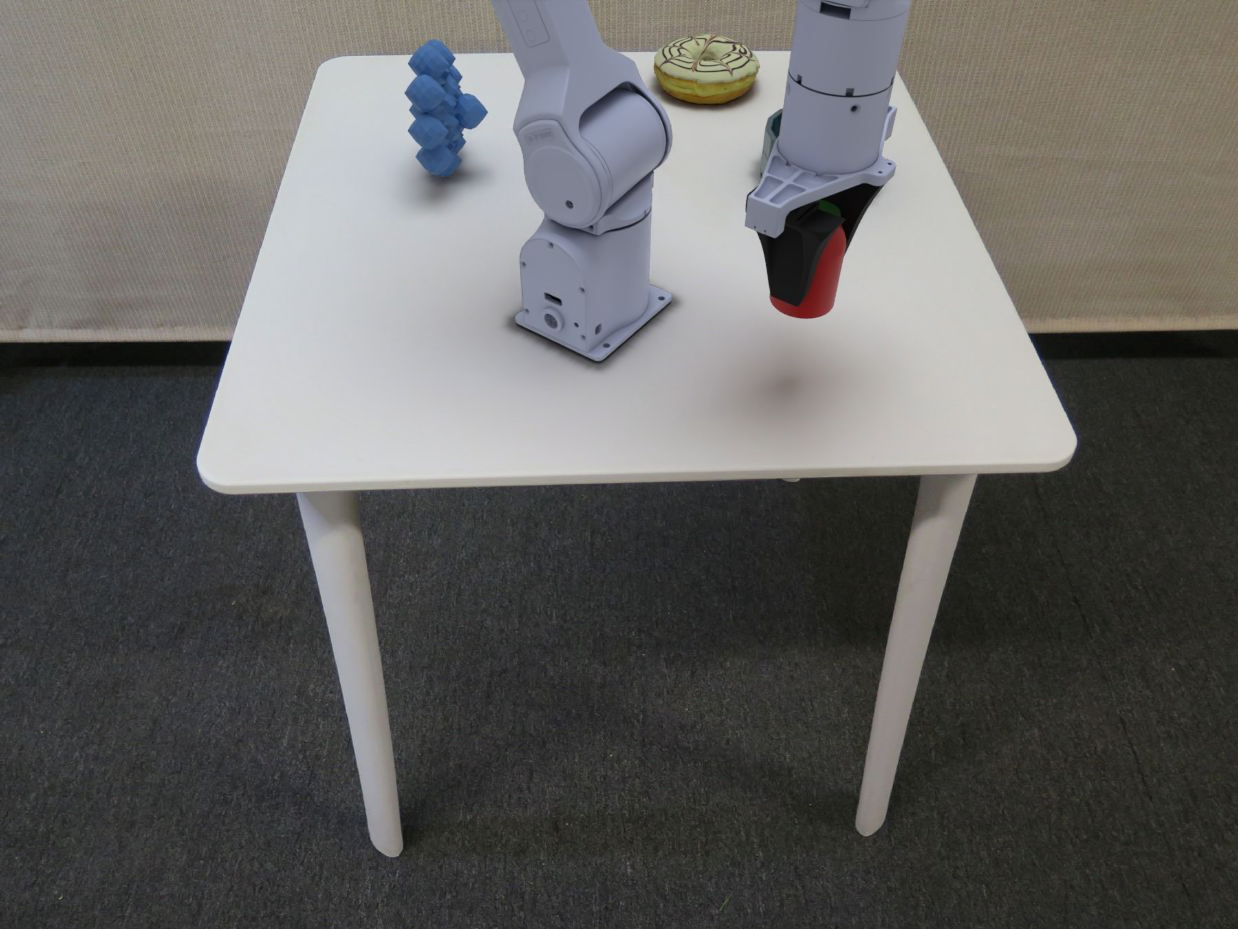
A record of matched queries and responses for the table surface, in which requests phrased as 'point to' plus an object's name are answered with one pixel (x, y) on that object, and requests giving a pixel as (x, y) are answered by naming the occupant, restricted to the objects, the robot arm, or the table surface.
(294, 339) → the table surface
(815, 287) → the red jar green lid
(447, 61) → the grapes
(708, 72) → the decorated donut
